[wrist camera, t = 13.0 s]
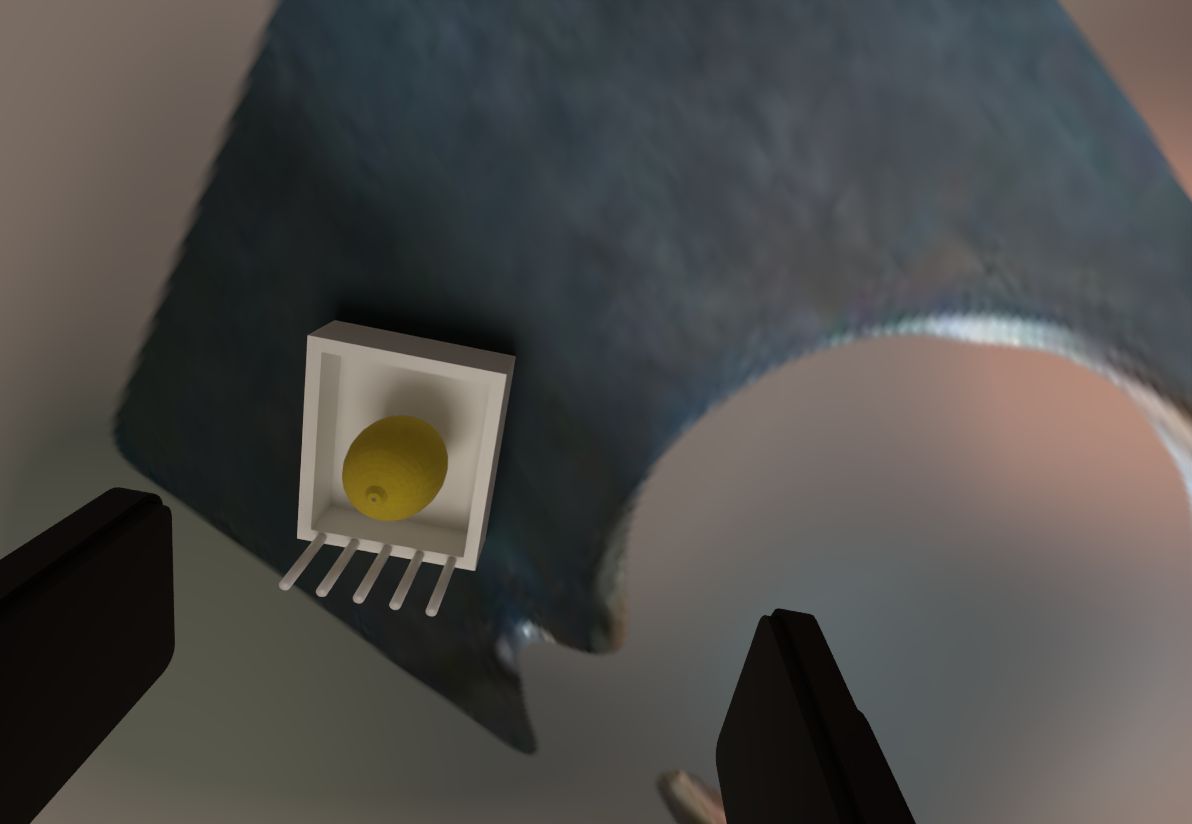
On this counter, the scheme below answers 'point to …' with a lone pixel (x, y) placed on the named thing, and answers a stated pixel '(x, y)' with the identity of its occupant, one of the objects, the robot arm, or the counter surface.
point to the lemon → (395, 468)
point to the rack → (391, 388)
